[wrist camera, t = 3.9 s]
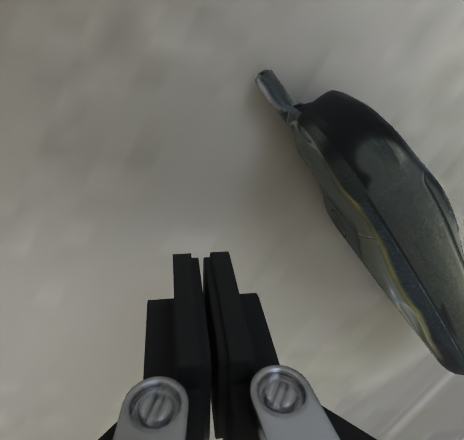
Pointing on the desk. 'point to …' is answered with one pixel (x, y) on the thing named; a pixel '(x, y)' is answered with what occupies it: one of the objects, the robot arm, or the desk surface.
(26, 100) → the desk surface
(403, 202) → the mobile phone
